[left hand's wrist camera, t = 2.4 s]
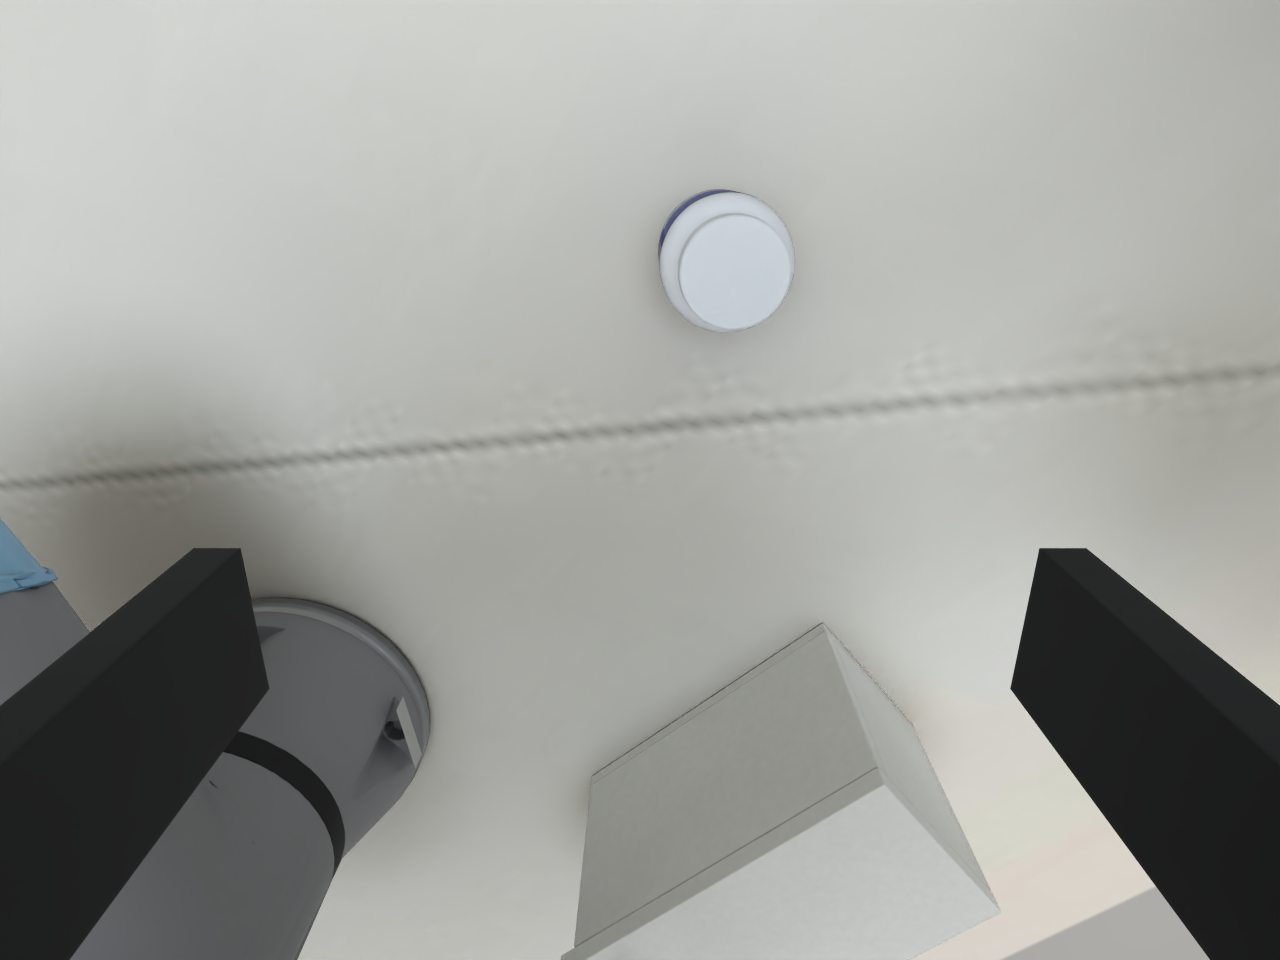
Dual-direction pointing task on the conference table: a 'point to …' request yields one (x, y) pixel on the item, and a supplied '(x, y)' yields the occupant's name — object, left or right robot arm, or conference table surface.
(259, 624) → the left robot arm
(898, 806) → the lid
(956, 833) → the chest
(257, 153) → the conference table surface
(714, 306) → the pill bottle
